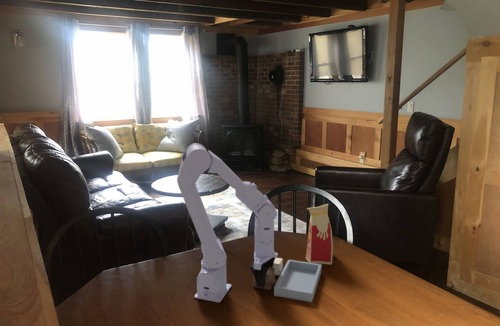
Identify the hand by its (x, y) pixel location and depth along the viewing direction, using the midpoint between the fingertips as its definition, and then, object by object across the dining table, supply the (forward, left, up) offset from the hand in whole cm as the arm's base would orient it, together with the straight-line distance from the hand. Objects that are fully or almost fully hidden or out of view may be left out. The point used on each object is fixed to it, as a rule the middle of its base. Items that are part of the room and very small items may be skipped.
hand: (264, 280), depth 118 cm
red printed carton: (+23, -13, -2) cm, 26 cm away
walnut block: (0, 0, -2) cm, 2 cm away
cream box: (+9, -1, -2) cm, 9 cm away
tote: (+4, -10, -1) cm, 11 cm away
